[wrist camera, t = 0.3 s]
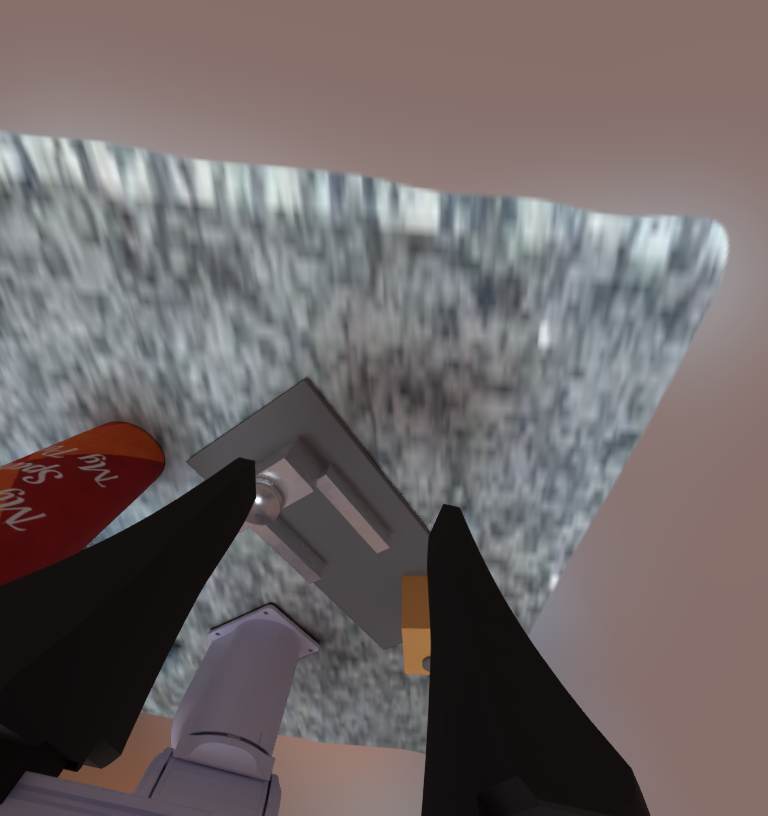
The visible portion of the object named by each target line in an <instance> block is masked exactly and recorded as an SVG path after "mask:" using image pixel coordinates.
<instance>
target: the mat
mask: <svg viewBox="0 0 768 816" xmlns="http://www.w3.org/2000/svg"><path fill="white" fill-rule="evenodd" d="M297 436H300V437H301V438H302V439H303V440H304V441H305V443H306V444H307V445H308V446H309V447H310V448H311V450H312V451H313V452H314V453H315V454H316V455H317V456H318V458H319V459H320V460H321V461H322V462H323V463H324V465H326V464H328V463H330V462H331V463H332V464H333V465H334V466H335V467H336V469H337V470H338V471H339V472H340V473H341V474H342V476H343V477H344V478H345V479H346V480H347V481H348V483H349V484H350V485H351V486H352V487H353V488H354V490H355V491H356V492H357V493H358V494H359V496H360V497H361V498H362V499H363V500H364V501H365V503H366V504H367V505H368V506H369V507H370V508H371V510H372V511H373V512H374V513H375V514H376V515H377V517H378V518H379V519H380V520H381V521H382V522H383V524H384V525H385V526H386V527H387V528H388V529H389V531H390V532H391V533H390V548H388V549H386V550H384V551H382V552H379V553H376V552H375V551H374V550H373V548H372V547H371V546H370V545H369V544H368V543H367V542H366V541H365V540H364V539H363V537H362V536H361V535H360V534H359V533H358V532H357V531H356V530H355V529H354V527H353V526H352V525H351V524H350V523H349V522H348V521H347V520H346V519H345V518H344V516H343V515H342V514H341V513H340V512H339V511H338V510H337V509H336V508H335V506H334V505H333V504H332V503H331V502H330V501H329V500H328V499H327V498H326V497H325V495H324V494H323V493H322V492H321V491H320V490H319V489H318V488H317V487H316V488H315V491H314V492H312V493H310V494H308V495H307V496H305V497H303V498H301V499H299V500H298V501H296V502H294V503H292V504H290V505H289V506H287V507H285V508H283V509H282V510H281V512H280V513H279V516H280V517H281V518H282V519H283V520H284V521H285V522H286V523H287V524H288V525H289V526H290V527H291V528H292V529H293V530H294V531H295V532H296V533H297V534H298V535H299V536H300V537H301V538H302V539H303V540H304V541H305V542H306V543H307V544H308V545H309V546H310V547H311V548H312V549H313V550H314V551H315V552H316V553H317V554H318V555H319V556H320V557H321V558H322V559H323V560H324V561H325V566H324V570H323V574H322V577H321V579H320V580H317V581H315V582H313V583H314V584H315V585H316V586H317V587H318V588H319V589H320V590H321V591H323V592H324V593H325V594H326V595H327V596H328V597H329V598H330V599H331V600H332V601H333V602H334V603H335V604H336V605H337V606H338V607H339V608H340V609H341V610H342V611H344V612H345V613H346V614H347V615H348V616H349V617H350V618H351V619H352V620H353V621H354V622H355V623H356V624H357V625H358V626H359V627H360V628H361V629H362V630H364V631H365V632H366V633H367V634H368V635H369V636H370V637H371V638H372V639H373V640H374V641H375V642H376V643H377V644H378V645H379V646H380V647H381V648H382V649H387V648H390V647H392V646H395V645H398V644H401V643H403V640H402V576H427V552H428V537H429V535H430V532H429V531H428V529H427V528H426V527H425V526H424V524H423V523H422V522H421V521H420V519H419V518H418V517H417V516H416V514H415V513H414V512H413V511H412V509H411V508H410V507H409V505H408V504H407V503H406V502H405V500H404V499H403V498H402V497H401V495H400V494H399V493H398V492H397V490H396V489H395V488H394V487H393V485H392V484H391V483H390V482H389V480H388V479H387V478H386V477H385V475H384V474H383V473H382V472H381V470H380V469H379V468H378V467H377V465H376V464H375V463H374V461H373V460H372V459H371V458H370V456H369V455H368V454H367V453H366V451H365V450H364V449H363V448H362V446H361V445H360V444H359V443H358V441H357V440H356V439H355V438H354V436H353V435H352V434H351V433H350V431H349V430H348V429H347V428H346V426H345V425H344V424H343V423H342V421H341V420H340V419H339V417H338V416H337V415H336V414H335V412H334V411H333V410H332V409H331V407H330V406H329V405H328V404H327V402H326V401H325V400H324V399H323V397H322V396H321V395H320V394H319V392H318V391H317V390H316V389H315V387H314V386H313V385H312V384H311V382H310V381H309V380H308V379H307V377H306V378H305V379H304V380H302V381H301V382H299V383H298V384H296V385H295V386H293V387H292V388H291V389H289V390H288V391H286V392H285V393H283V394H282V395H280V396H279V397H278V398H276V399H275V400H273V401H272V402H270V403H269V404H267V405H266V406H265V407H263V408H262V409H260V410H259V411H257V412H256V413H254V414H253V415H252V416H250V417H249V418H247V419H246V420H244V421H243V422H241V423H240V424H239V425H237V426H236V427H234V428H233V429H231V430H230V431H228V432H227V433H226V434H224V435H223V436H221V437H220V438H218V439H217V440H215V441H214V442H213V443H211V444H210V445H208V446H207V447H205V448H204V449H202V450H201V451H200V452H198V453H197V454H195V455H194V456H192V457H191V458H190V459H189V460H187V461H186V462H187V463H188V464H189V465H190V466H191V467H192V468H193V469H194V470H195V471H196V472H197V473H198V474H199V475H200V476H201V477H203V478H204V479H205V480H207V479H208V478H209V477H211V476H212V475H214V474H215V473H217V472H218V471H220V470H221V469H222V468H224V467H225V466H227V465H228V464H229V463H231V462H232V461H234V460H235V459H237V458H239V457H241V458H245V459H250V460H254V461H255V463H256V462H258V461H259V460H261V459H262V458H264V457H266V456H267V455H269V454H270V453H272V452H274V451H275V450H277V449H278V448H280V447H281V446H283V445H285V444H286V443H288V442H289V441H291V440H293V439H294V438H296V437H297Z"/></svg>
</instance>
